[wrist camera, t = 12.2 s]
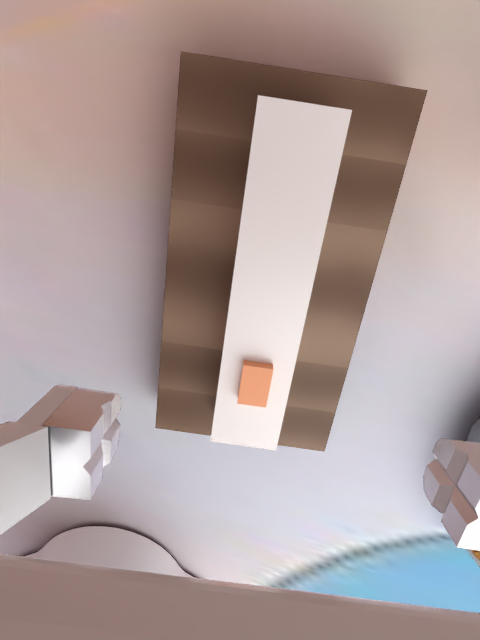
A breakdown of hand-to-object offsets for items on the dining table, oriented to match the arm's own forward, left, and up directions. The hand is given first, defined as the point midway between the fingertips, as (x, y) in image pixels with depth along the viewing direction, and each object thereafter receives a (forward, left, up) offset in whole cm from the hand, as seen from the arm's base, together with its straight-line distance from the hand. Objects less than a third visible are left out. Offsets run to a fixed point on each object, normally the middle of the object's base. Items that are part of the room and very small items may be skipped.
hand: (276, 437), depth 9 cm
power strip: (+1, 0, -15) cm, 15 cm away
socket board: (0, 0, -16) cm, 16 cm away
